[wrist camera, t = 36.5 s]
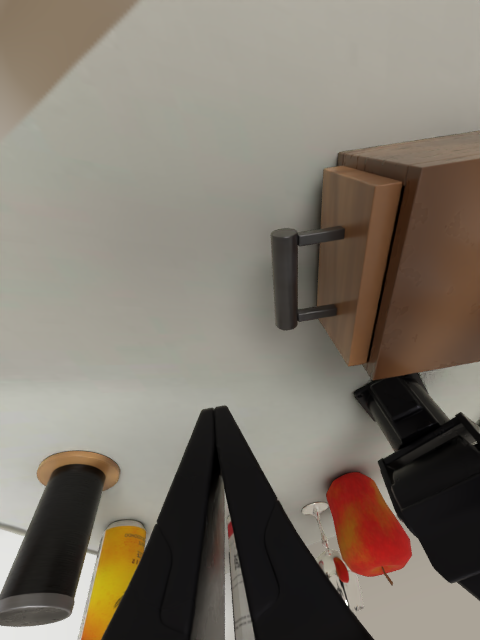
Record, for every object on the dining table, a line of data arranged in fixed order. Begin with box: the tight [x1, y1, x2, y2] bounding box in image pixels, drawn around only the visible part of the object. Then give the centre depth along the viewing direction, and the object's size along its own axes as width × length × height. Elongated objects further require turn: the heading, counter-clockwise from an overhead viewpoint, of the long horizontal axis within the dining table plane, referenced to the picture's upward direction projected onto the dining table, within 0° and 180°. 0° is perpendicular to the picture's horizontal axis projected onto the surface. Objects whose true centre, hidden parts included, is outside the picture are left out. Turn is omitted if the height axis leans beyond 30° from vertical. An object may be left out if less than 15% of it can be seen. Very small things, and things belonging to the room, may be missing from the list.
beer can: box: [78, 520, 146, 640], centre depth 35 cm, size 6×6×15 cm
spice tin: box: [0, 464, 106, 627], centre depth 27 cm, size 6×6×11 cm
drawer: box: [271, 166, 405, 366], centre depth 17 cm, size 16×10×6 cm, turn 97°
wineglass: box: [302, 502, 364, 613], centre depth 41 cm, size 6×6×12 cm
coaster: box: [37, 451, 120, 491], centre depth 32 cm, size 8×8×1 cm
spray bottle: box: [227, 515, 255, 640], centre depth 34 cm, size 8×8×25 cm
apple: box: [326, 472, 412, 585], centre depth 36 cm, size 9×8×12 cm
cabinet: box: [338, 131, 480, 380], centre depth 17 cm, size 14×12×8 cm
